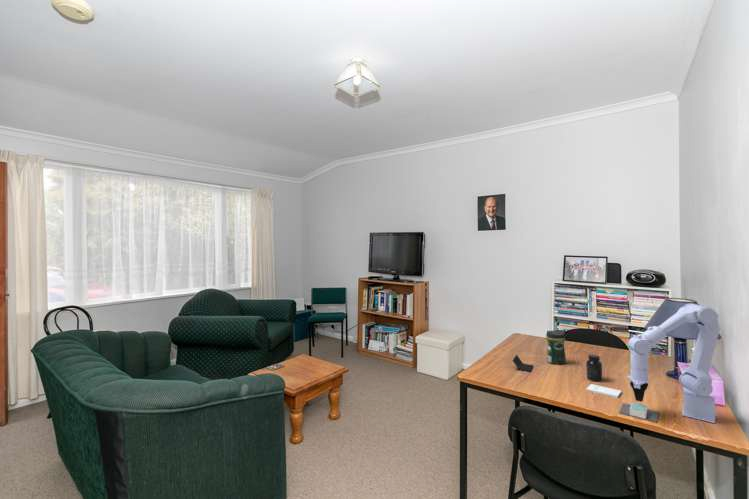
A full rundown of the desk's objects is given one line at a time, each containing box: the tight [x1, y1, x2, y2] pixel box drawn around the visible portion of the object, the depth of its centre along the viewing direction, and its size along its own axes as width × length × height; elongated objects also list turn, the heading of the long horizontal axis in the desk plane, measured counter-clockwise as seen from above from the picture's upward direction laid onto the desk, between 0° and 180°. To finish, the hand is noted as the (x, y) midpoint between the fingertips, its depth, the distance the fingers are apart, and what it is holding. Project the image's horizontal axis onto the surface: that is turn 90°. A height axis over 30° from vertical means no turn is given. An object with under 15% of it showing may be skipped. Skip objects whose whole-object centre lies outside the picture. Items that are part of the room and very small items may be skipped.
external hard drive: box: [585, 383, 623, 399], centre depth 165 cm, size 2×8×12 cm
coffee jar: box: [545, 330, 567, 365], centre depth 205 cm, size 10×8×19 cm
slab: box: [630, 402, 648, 420], centre depth 142 cm, size 5×3×7 cm
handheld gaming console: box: [512, 354, 534, 373], centre depth 197 cm, size 12×7×10 cm
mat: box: [618, 402, 660, 423], centre depth 144 cm, size 12×11×1 cm
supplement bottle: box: [585, 354, 603, 383], centre depth 180 cm, size 7×7×12 cm
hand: (639, 400), depth 144 cm, fingers closed
